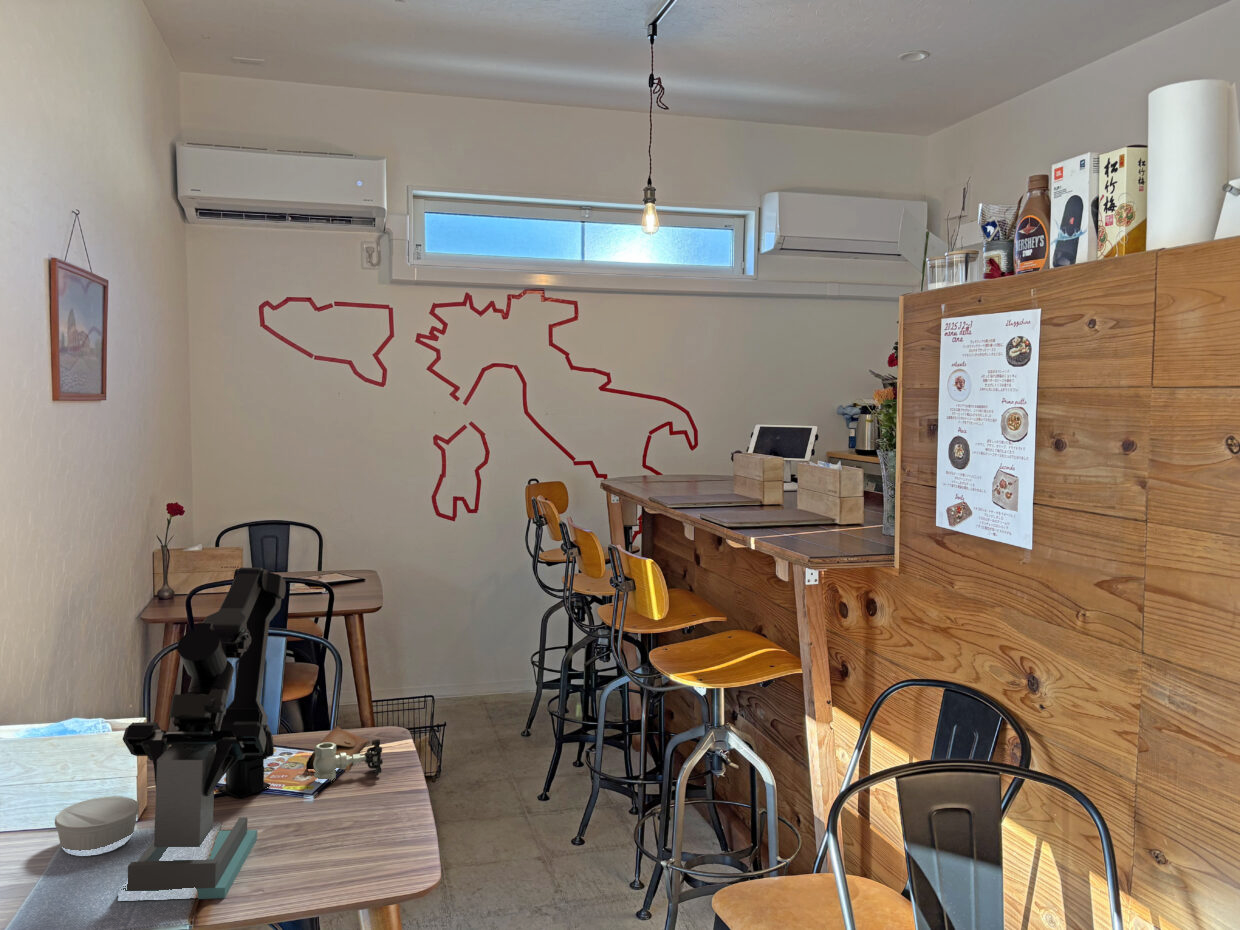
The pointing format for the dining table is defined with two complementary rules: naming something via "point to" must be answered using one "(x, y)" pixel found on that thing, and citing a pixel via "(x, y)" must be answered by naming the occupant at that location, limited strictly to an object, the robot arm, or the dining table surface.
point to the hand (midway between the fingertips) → (182, 795)
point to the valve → (343, 759)
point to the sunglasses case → (341, 745)
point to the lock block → (183, 795)
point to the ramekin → (96, 822)
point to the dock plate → (195, 866)
